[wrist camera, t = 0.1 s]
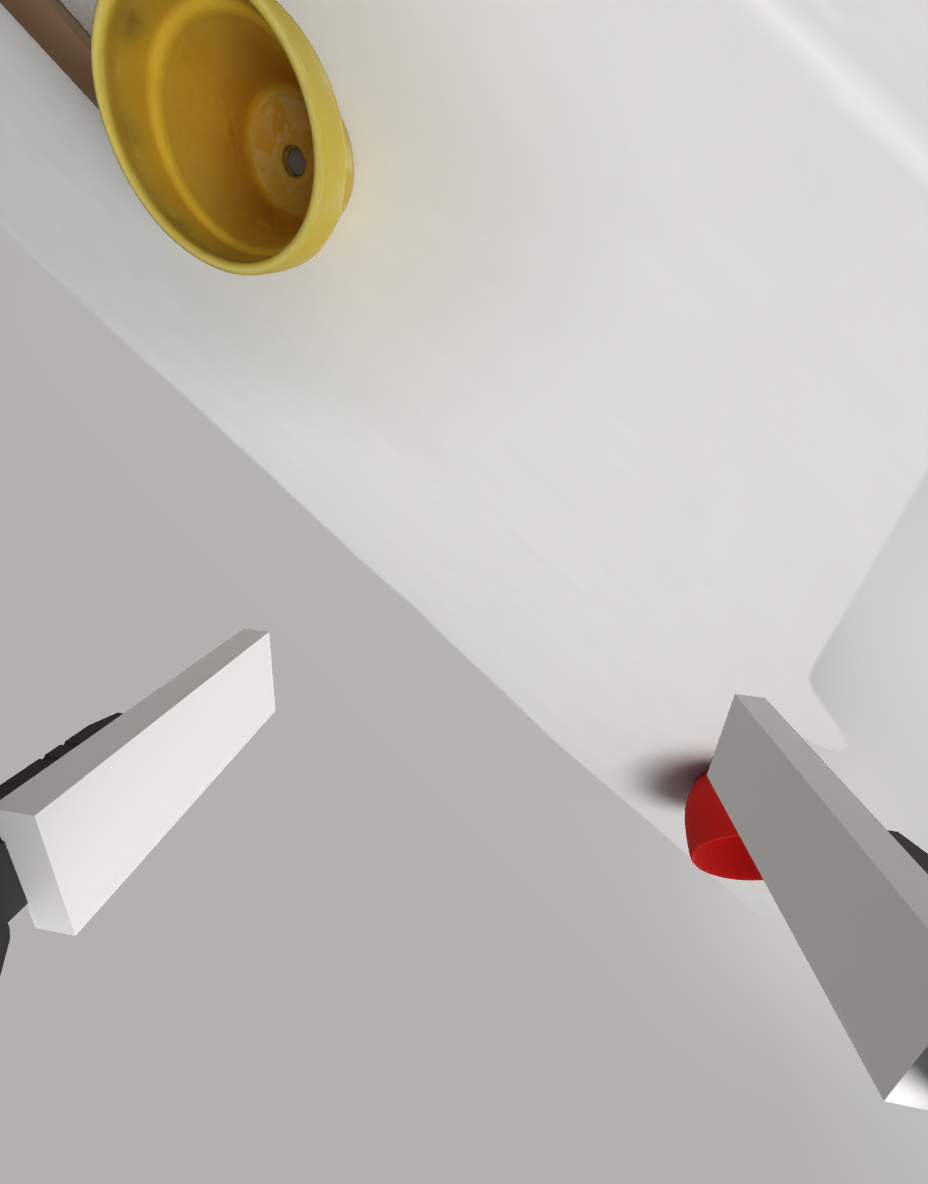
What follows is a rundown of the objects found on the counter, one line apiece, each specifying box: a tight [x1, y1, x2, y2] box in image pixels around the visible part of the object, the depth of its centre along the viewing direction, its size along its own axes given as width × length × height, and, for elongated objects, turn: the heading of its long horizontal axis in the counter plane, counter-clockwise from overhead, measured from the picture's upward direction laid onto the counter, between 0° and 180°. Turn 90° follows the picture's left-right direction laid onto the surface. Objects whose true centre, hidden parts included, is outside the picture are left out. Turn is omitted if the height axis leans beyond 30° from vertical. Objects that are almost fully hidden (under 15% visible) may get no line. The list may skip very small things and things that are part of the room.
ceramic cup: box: [685, 771, 763, 880], centre depth 56 cm, size 13×17×10 cm
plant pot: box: [91, 0, 354, 275], centre depth 23 cm, size 10×10×10 cm
